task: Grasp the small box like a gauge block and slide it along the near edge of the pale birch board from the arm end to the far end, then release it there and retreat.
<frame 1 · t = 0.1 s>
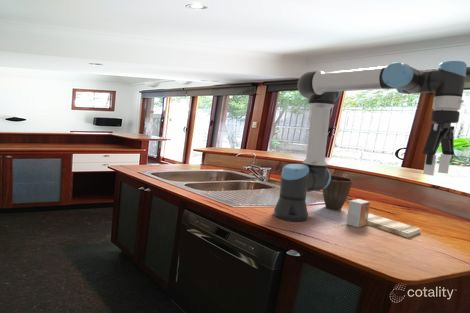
hand: (435, 173, 97), 28 cm above the worktop, fingers open, 13 cm apart
small box: (356, 224, 126), on the worktop
plant pot: (333, 208, 149), on the worktop
board: (386, 226, 126), on the worktop
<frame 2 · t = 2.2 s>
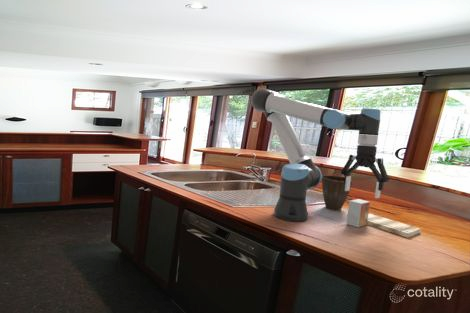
hand: (361, 194, 124), 14 cm above the worktop, fingers open, 13 cm apart
nothing on the worktop moved.
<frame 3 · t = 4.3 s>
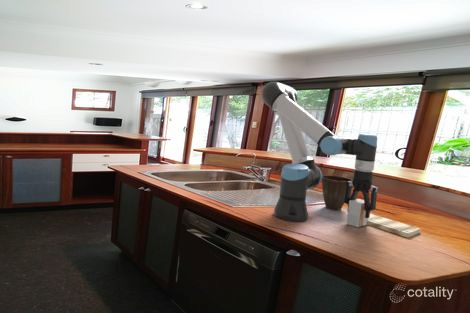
hand: (357, 222, 126), 1 cm above the worktop, fingers closed on small box, 6 cm apart
small box: (356, 224, 126), on the worktop, touching gripper
everything else where it was.
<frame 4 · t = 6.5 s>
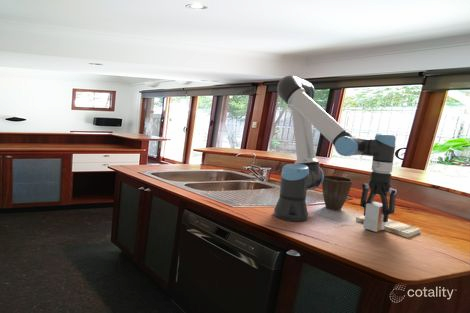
hand: (374, 226, 120), 1 cm above the worktop, fingers closed on small box, 6 cm apart
small box: (373, 229, 120), on the worktop, touching gripper
everything else where it was.
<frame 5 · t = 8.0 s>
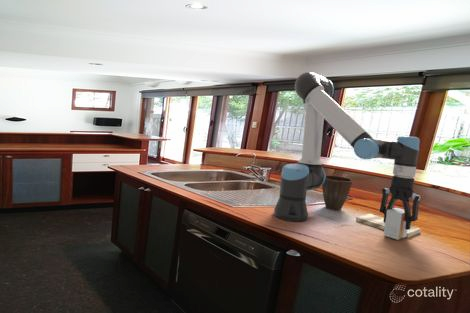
hand: (395, 233, 113), 1 cm above the worktop, fingers closed on small box, 6 cm apart
small box: (394, 236, 114), on the worktop, touching gripper
everything else where it was.
when the fingers open (1 cm above the worktop, at t = 9.1 s): small box stays where it is, on the worktop.
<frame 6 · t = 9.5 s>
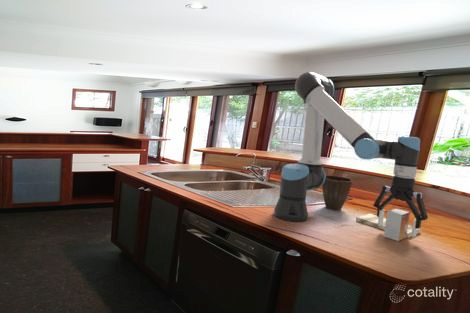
hand: (396, 230, 113), 3 cm above the worktop, fingers open, 12 cm apart
small box: (394, 237, 113), on the worktop
everything else where it was.
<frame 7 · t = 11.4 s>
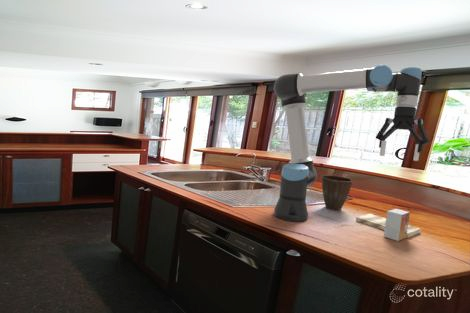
hand: (398, 158, 120), 31 cm above the worktop, fingers open, 13 cm apart
nothing on the worktop moved.
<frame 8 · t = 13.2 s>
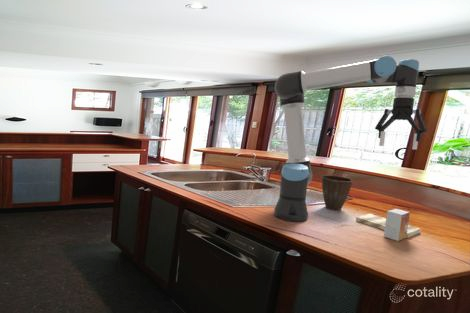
hand: (397, 147, 124), 35 cm above the worktop, fingers open, 13 cm apart
nothing on the worktop moved.
at the end: small box inside the target area (0.7 cm from its centre), on the worktop; small box tilted 0°; the gripper is holding nothing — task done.
